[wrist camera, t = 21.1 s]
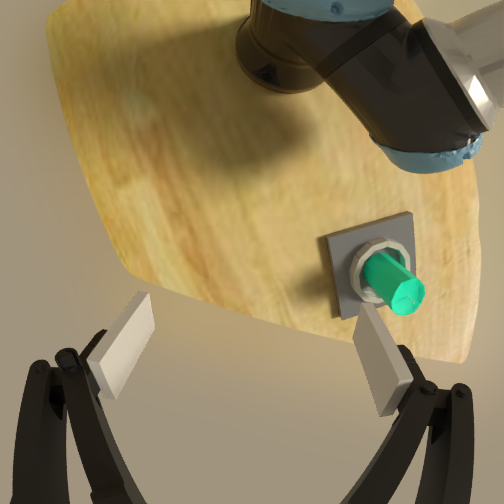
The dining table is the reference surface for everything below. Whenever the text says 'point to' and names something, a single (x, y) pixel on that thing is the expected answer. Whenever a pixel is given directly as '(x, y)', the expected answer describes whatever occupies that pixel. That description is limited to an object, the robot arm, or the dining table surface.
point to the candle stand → (359, 252)
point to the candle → (394, 284)
